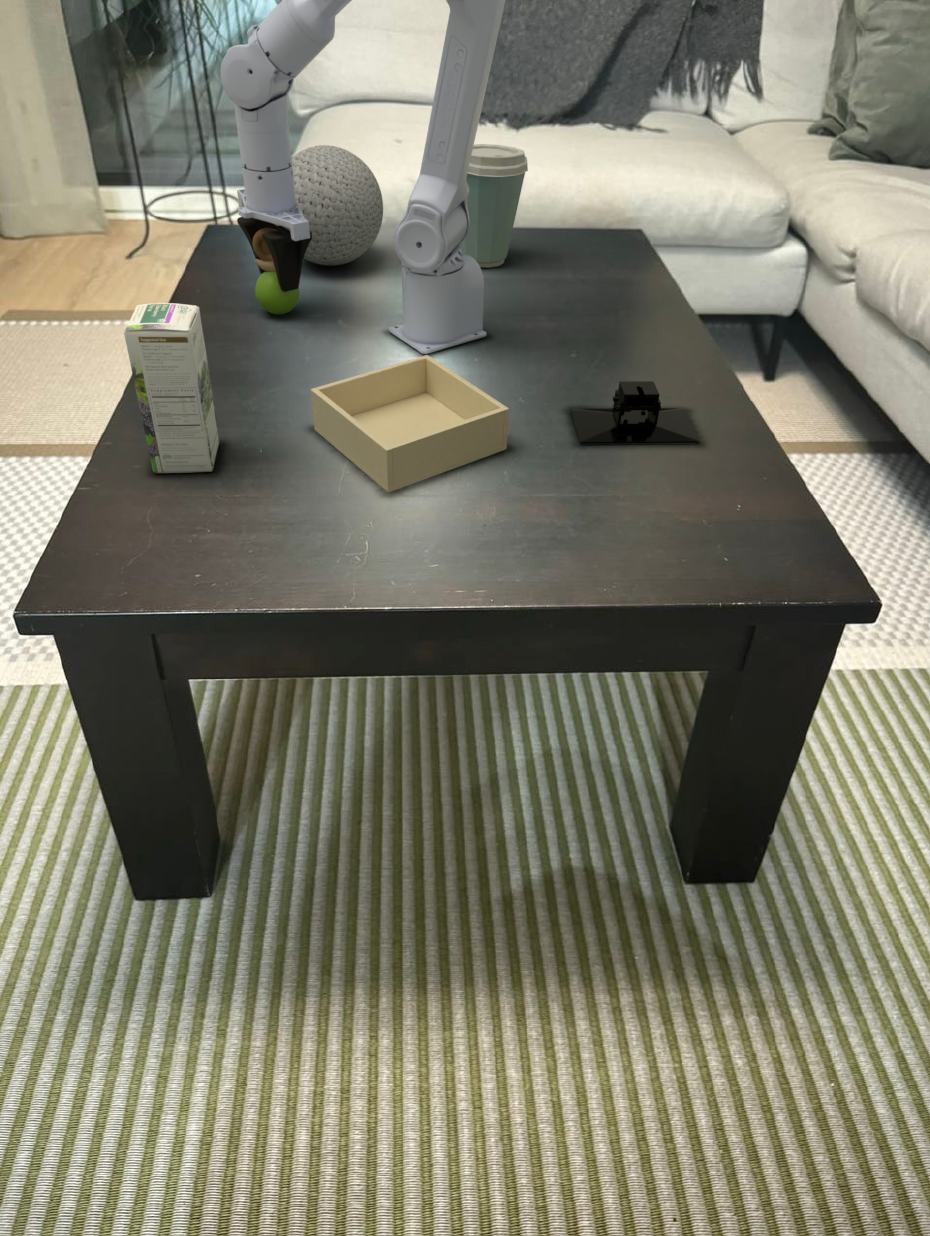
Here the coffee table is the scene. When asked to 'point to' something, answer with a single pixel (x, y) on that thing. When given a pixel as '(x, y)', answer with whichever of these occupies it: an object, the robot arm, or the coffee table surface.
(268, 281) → the snail figurine
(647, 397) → the build plate
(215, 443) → the syrup box
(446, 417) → the tray
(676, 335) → the coffee table surface
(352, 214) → the decorative ball
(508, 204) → the disposable coffee cup
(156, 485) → the coffee table surface
